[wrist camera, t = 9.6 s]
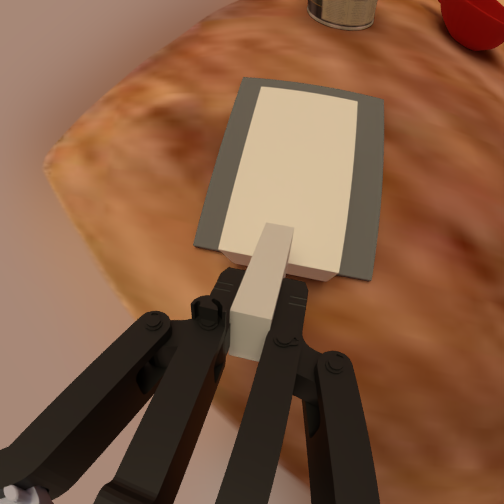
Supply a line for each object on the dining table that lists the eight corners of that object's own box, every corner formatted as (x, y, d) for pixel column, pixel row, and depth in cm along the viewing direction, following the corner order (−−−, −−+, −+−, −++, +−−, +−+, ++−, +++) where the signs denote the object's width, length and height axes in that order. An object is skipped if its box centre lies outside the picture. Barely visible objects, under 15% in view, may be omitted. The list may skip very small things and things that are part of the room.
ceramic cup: (437, 2, 32) (449, -34, 22) (503, 58, 28) (525, 25, 19) (399, 7, 32) (410, -36, 22) (476, 70, 28) (501, 28, 18)
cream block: (338, 273, 19) (357, 101, 21) (218, 249, 20) (261, 86, 22) (326, 282, 25) (346, 140, 27) (234, 263, 26) (266, 126, 28)
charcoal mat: (244, 81, 31) (243, 77, 30) (382, 103, 28) (383, 99, 28) (195, 246, 28) (193, 245, 27) (368, 281, 25) (371, 280, 24)
